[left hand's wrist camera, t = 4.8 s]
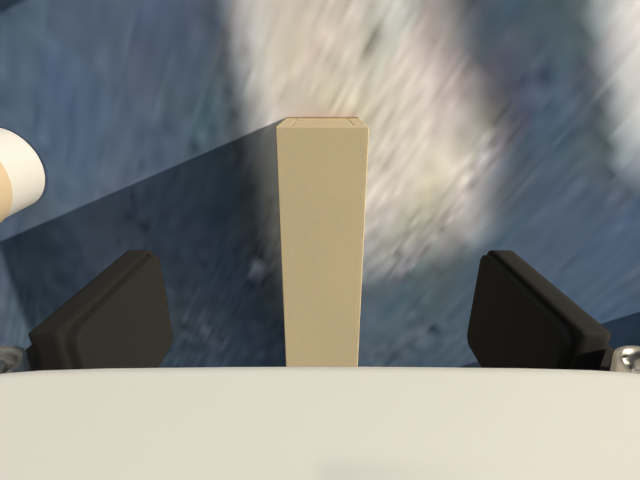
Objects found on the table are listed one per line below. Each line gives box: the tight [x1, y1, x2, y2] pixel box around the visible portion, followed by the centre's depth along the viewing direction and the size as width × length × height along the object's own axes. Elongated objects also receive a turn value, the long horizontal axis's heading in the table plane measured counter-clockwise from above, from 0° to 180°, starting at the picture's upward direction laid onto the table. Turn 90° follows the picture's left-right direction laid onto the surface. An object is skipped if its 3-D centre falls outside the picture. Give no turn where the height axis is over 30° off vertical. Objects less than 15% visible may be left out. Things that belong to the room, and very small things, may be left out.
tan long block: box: [276, 117, 369, 367], centre depth 30 cm, size 22×6×8 cm, turn 0°
